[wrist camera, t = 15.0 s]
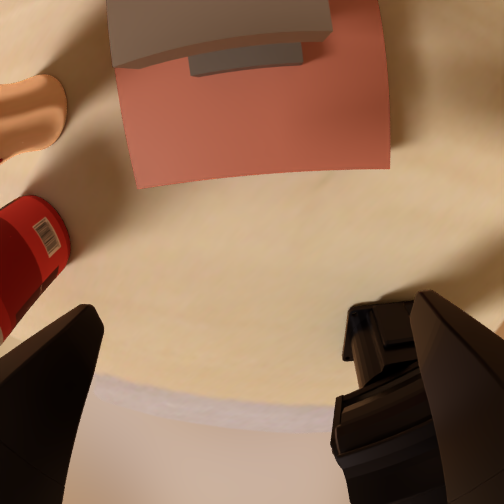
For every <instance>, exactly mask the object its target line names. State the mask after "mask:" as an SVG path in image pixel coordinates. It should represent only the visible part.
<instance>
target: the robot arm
mask: <svg viewBox="0 0 504 504" xmlns="http://www.w3.org/2000/svg"><path fill="white" fill-rule="evenodd" d="M354 312H356V313H354ZM352 313H354V314H352ZM103 334H104V325H103V323H102V321H101V319H100V317H99V315H98V313H97V311H96V309H95V307H94V306H93V305H91V304H80V305H78V306H77V307H75V308H74V309H72V310H71V311H69V312H68V313H66V314H65V315H63V316H61V317H60V318H58V319H57V320H55V321H54V322H52V323H51V324H49V325H48V326H46V327H45V328H43V329H42V330H40V331H39V332H37V333H36V334H34V335H33V336H31V337H30V338H29V339H27V340H26V341H24V342H23V343H21V344H20V345H18V346H17V347H16V348H14V349H13V350H11V351H10V352H8V353H7V354H5V355H4V356H3V357H1V358H0V504H62V501H63V495H64V489H65V483H66V477H67V472H68V467H69V463H70V458H71V454H72V450H73V446H74V442H75V438H76V433H77V429H78V426H79V422H80V419H81V415H82V412H83V408H84V405H85V401H86V398H87V394H88V391H89V388H90V385H91V382H92V379H93V375H94V371H95V367H96V363H97V359H98V354H99V350H100V346H101V342H102V338H103ZM342 358H343V361H354V364H355V369H356V374H357V379H358V384H359V389H358V390H356V391H353V392H351V393H349V394H346V395H341V396H339V397H336V402H335V410H334V418H333V427H332V435H331V442H330V445H331V448H332V453H333V454H334V456H335V459H336V461H337V463H338V465H339V466H340V467H341V468H342V469H343V472H344V475H345V478H346V483H347V487H348V493H349V499H350V503H351V504H504V340H503V339H502V338H501V337H499V336H498V335H496V334H495V333H494V332H492V331H491V330H490V329H488V328H487V327H486V326H484V325H483V324H481V323H480V322H478V321H477V320H476V319H474V318H473V317H471V316H470V315H468V314H467V313H466V312H464V311H463V310H461V309H460V308H458V307H457V306H455V305H454V304H452V303H451V302H449V301H448V300H446V299H445V298H443V297H442V296H440V295H439V294H437V293H436V292H434V291H433V290H423V291H418V292H417V294H416V296H415V300H414V301H406V302H397V303H388V304H378V305H368V306H357V307H352V308H350V309H349V310H348V314H347V323H346V331H345V338H344V345H343V352H342Z"/></svg>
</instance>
